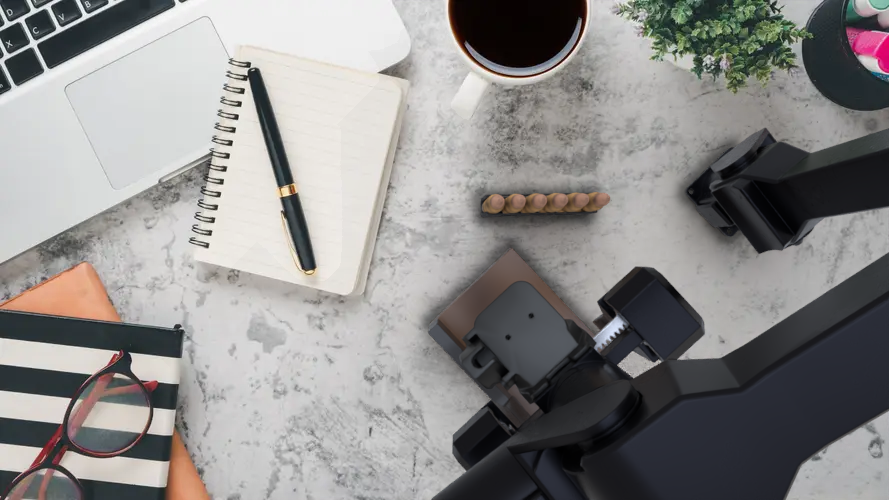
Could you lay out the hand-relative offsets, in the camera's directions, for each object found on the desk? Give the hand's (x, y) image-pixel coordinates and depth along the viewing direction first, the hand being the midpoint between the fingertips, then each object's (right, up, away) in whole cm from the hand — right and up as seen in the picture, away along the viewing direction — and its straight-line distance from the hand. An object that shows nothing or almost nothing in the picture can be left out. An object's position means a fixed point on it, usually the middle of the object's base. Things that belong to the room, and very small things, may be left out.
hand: (556, 363), depth 54 cm
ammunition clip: (0, +14, +12) cm, 18 cm away
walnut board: (-2, +1, +12) cm, 12 cm away
